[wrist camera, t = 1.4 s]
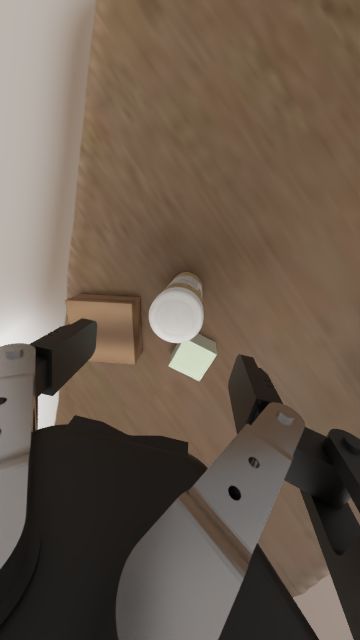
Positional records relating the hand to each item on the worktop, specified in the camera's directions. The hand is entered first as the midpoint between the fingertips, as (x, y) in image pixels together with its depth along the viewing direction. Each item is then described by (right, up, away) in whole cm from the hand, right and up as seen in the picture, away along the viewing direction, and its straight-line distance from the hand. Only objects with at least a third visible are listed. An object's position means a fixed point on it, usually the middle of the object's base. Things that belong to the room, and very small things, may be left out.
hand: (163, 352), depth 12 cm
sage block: (+3, -3, +21) cm, 21 cm away
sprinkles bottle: (+2, +6, +18) cm, 19 cm away
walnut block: (-9, +1, +21) cm, 23 cm away
